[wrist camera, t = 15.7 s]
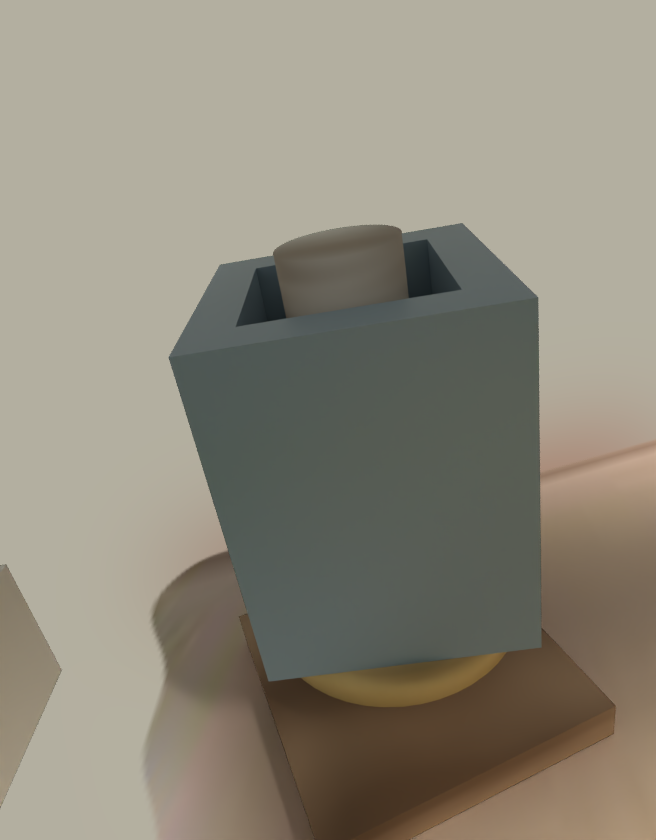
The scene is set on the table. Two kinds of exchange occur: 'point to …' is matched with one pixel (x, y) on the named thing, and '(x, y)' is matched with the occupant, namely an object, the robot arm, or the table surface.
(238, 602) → the table surface
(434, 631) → the sleeve
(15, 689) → the robot arm
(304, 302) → the post stand
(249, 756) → the table surface
